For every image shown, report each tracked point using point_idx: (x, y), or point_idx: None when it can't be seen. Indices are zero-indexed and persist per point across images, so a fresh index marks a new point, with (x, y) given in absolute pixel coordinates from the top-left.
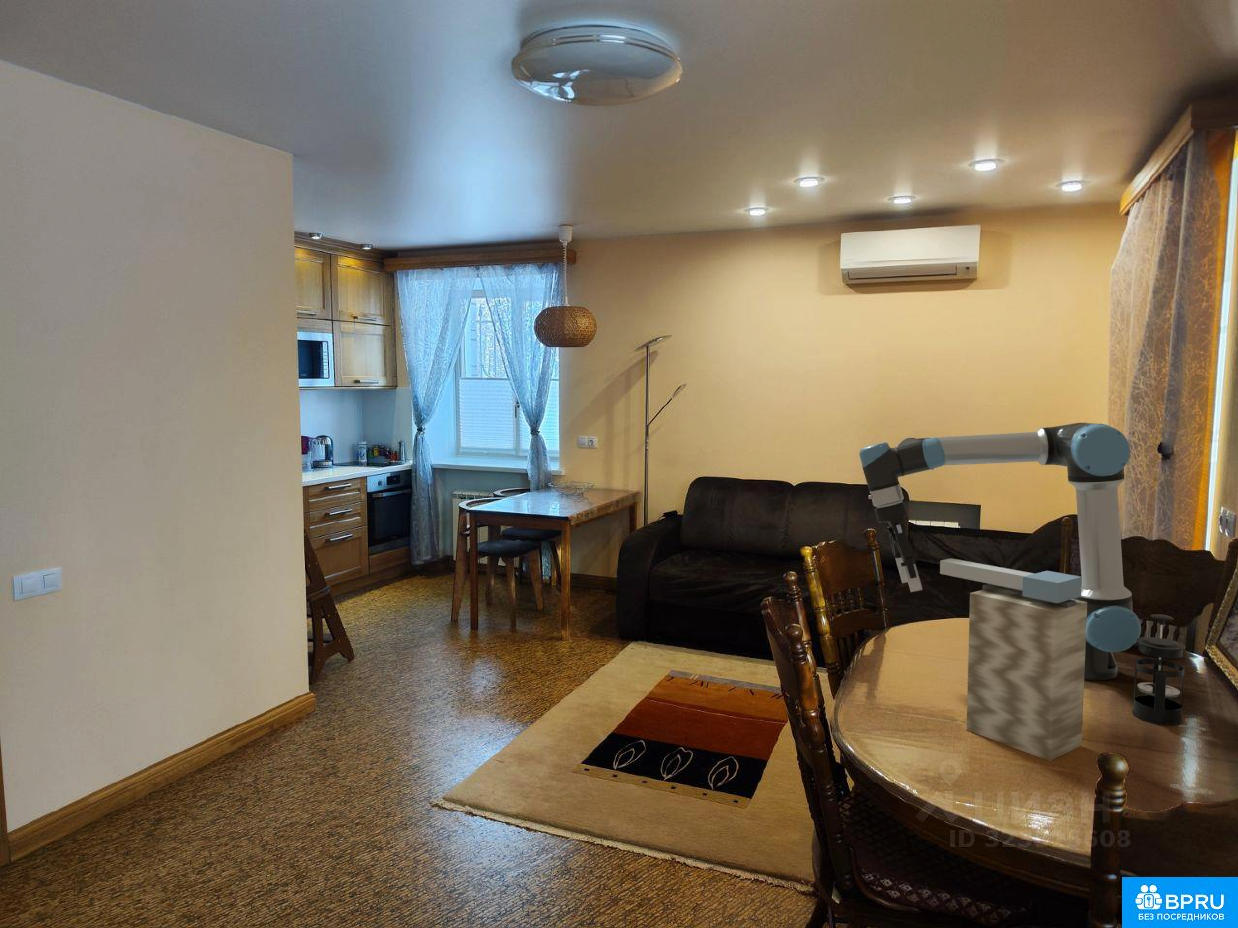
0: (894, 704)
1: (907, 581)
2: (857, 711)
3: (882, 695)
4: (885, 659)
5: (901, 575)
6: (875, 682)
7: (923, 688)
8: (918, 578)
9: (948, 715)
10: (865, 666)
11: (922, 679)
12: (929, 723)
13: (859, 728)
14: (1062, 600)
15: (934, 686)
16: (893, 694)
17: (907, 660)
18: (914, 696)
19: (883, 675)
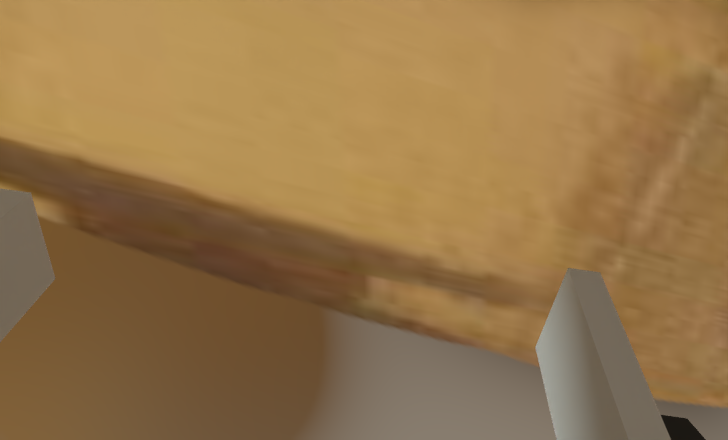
0: (560, 235)
1: (41, 245)
2: None
3: (483, 253)
4: (105, 155)
5: (4, 326)
6: (365, 248)
7: (420, 99)
8: (632, 371)
9: (668, 90)
10: (201, 245)
11: (325, 74)
12: (718, 171)
13: (717, 364)
14: None
15: (399, 50)
16: (476, 217)
17: (100, 68)
18: (496, 153)
19: (292, 205)
